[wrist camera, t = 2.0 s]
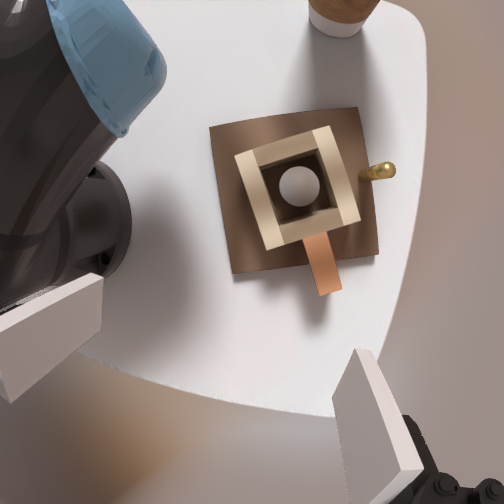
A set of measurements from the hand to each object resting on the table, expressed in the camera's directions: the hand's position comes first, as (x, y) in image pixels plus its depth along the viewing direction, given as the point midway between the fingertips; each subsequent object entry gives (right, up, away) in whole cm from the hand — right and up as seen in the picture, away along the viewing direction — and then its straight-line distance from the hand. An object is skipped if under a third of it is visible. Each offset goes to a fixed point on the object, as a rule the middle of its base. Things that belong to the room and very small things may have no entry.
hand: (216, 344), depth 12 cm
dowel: (+12, +11, +14) cm, 21 cm away
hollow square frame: (+6, +7, +15) cm, 18 cm away
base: (+6, +10, +16) cm, 20 cm away
